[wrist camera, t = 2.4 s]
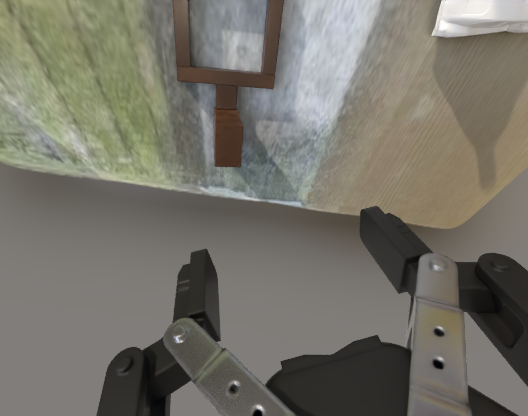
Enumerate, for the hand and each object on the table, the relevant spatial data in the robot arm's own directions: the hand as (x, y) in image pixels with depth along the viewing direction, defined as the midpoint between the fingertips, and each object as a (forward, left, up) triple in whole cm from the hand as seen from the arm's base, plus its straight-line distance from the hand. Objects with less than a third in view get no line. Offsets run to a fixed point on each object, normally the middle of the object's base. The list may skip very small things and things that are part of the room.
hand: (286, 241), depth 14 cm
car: (+23, +14, -19) cm, 33 cm away
